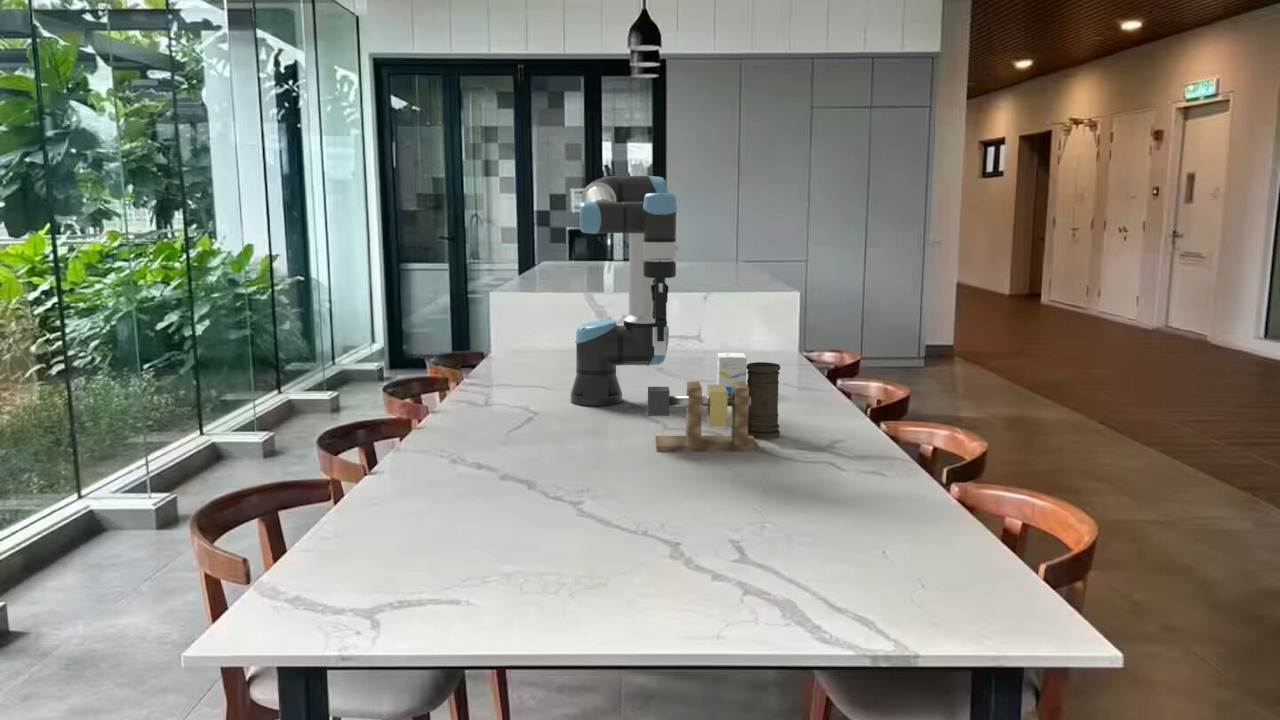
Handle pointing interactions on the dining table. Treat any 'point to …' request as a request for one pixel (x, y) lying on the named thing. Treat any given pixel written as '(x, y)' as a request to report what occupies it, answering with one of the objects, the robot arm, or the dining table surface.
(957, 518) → the dining table surface
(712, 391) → the spacer
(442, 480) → the dining table surface
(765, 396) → the container
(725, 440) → the bearing rig
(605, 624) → the dining table surface
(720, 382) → the ink box
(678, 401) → the shaft
